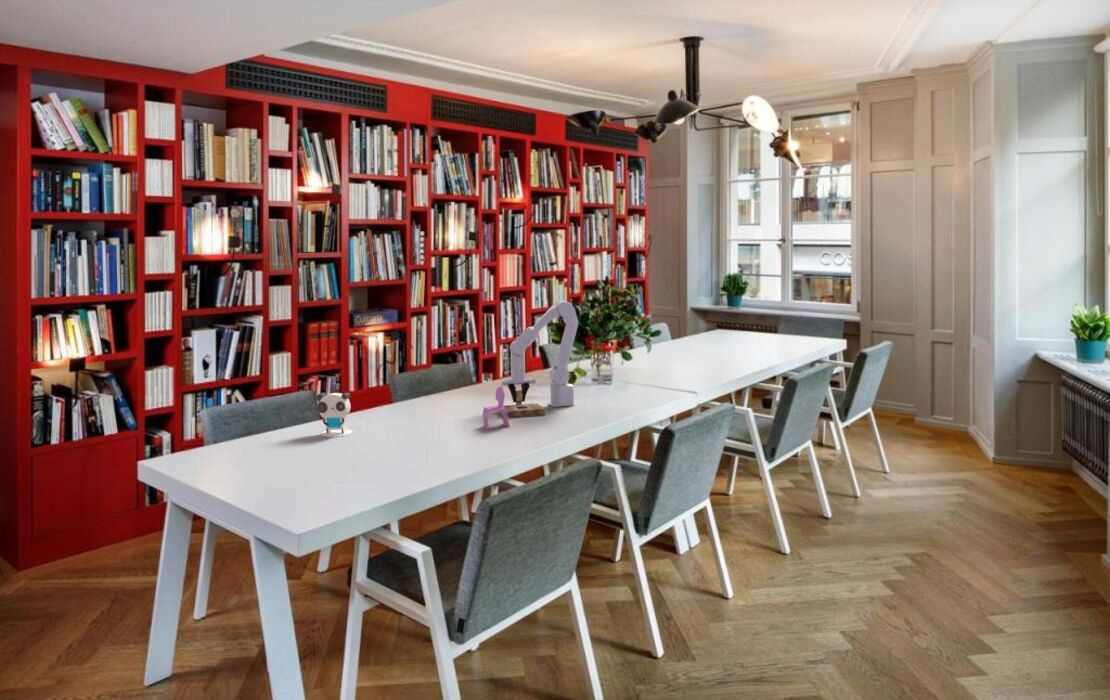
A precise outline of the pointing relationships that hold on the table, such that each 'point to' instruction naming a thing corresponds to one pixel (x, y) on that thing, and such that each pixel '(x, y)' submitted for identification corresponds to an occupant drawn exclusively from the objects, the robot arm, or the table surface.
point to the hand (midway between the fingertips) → (518, 401)
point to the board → (524, 410)
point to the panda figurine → (334, 413)
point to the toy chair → (496, 407)
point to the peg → (519, 397)
